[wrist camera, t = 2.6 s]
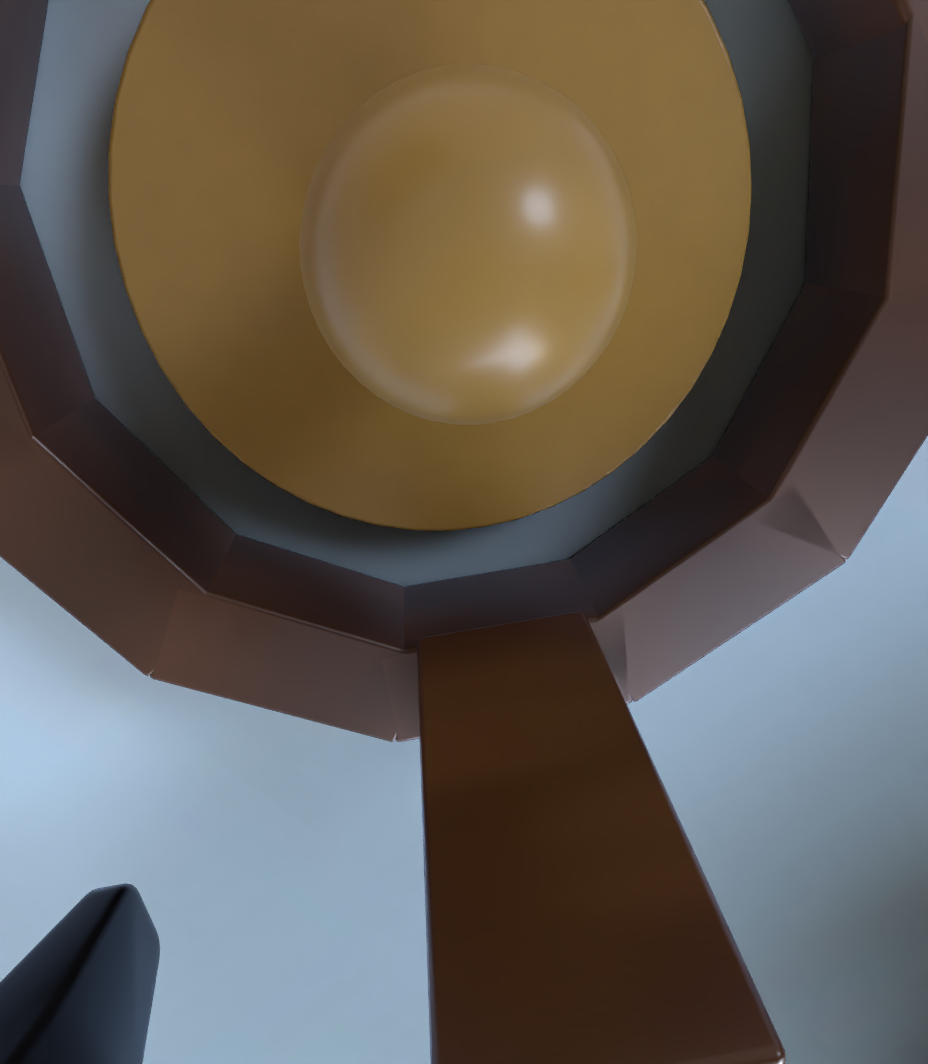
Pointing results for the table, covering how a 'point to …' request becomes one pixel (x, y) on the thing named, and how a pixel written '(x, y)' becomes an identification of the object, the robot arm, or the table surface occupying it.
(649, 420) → the ring stand
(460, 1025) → the ring
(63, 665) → the table surface
